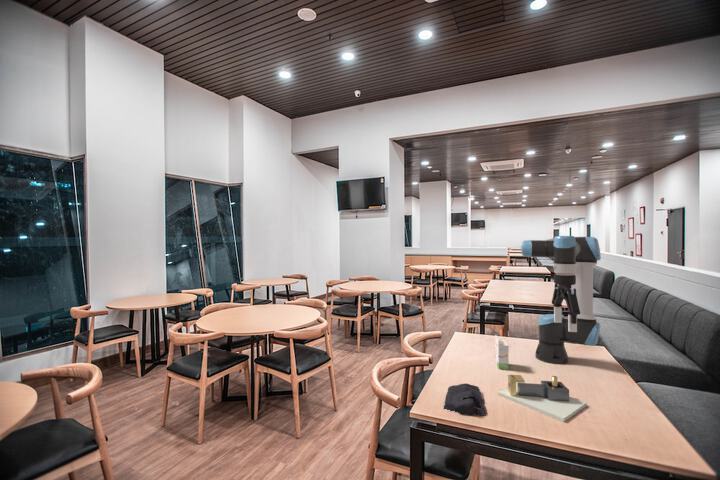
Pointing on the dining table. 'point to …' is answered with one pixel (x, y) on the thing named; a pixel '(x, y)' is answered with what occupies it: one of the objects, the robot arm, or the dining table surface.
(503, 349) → the ink box
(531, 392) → the link
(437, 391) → the dining table surface
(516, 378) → the block
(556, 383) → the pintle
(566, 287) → the robot arm
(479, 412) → the black flat irregular piece
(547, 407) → the board
